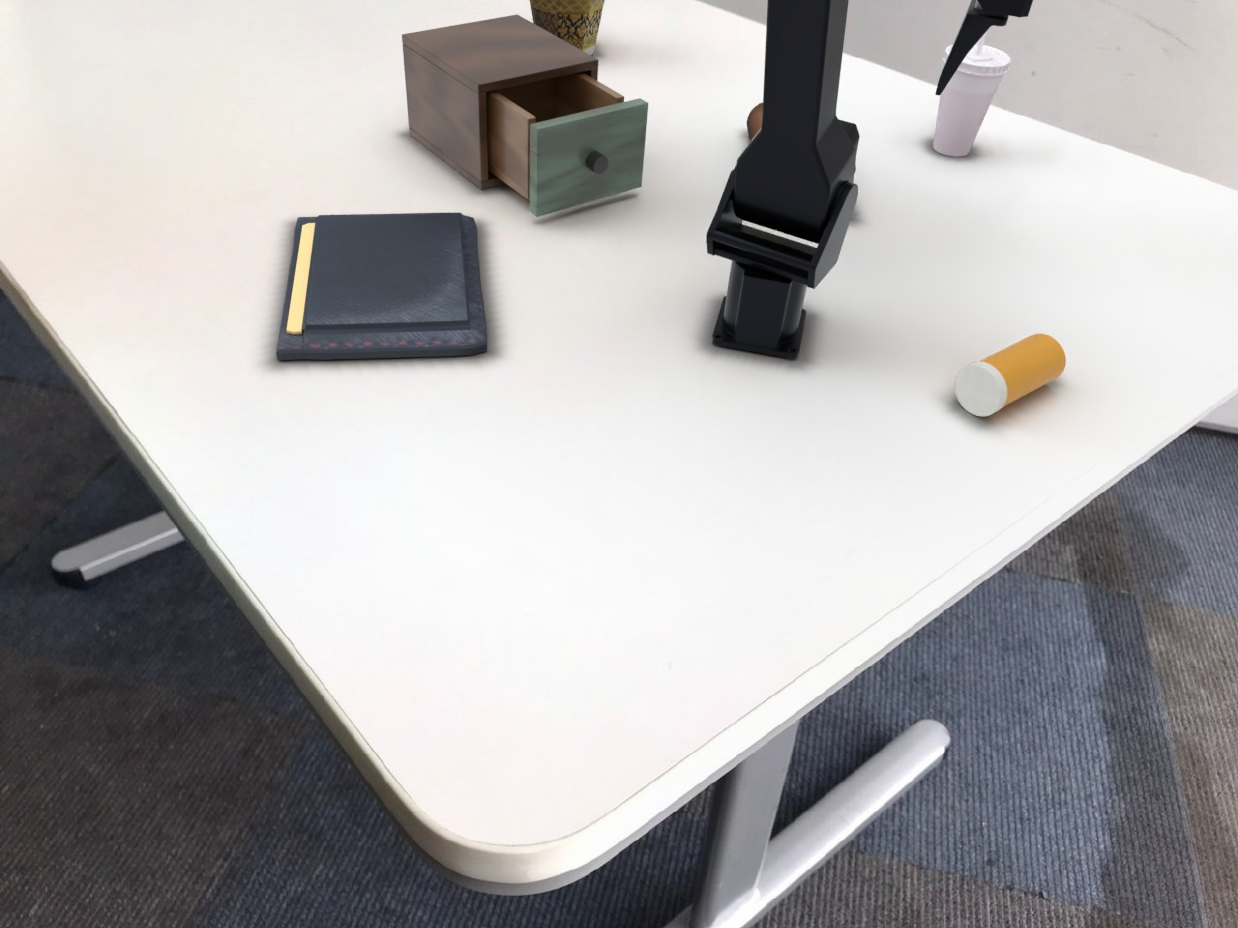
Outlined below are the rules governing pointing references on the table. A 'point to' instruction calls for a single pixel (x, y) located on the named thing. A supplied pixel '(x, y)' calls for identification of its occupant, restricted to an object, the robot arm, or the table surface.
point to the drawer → (565, 141)
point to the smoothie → (968, 98)
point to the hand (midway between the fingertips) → (880, 82)
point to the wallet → (383, 288)
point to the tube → (1009, 374)
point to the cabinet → (476, 82)
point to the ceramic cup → (570, 20)
